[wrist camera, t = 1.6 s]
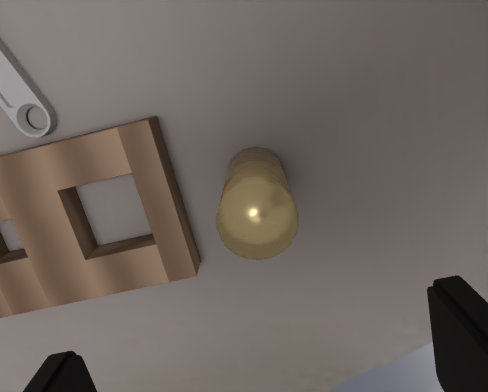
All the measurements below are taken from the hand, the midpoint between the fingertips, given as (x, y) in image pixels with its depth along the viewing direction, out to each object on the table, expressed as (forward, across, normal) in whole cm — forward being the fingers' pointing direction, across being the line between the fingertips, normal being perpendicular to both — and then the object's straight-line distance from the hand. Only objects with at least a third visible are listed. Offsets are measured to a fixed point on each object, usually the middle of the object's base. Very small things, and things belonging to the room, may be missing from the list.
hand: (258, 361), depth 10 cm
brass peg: (+20, 0, 0) cm, 20 cm away
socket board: (+20, +15, 0) cm, 25 cm away
